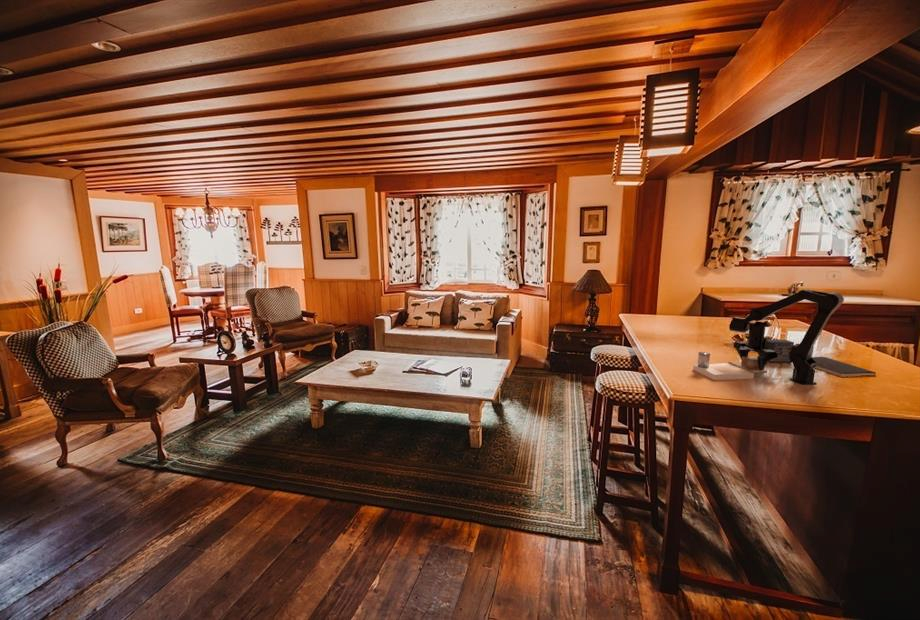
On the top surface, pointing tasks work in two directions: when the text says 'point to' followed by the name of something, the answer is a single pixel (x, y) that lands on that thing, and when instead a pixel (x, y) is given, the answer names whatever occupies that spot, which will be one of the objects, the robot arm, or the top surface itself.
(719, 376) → the dock
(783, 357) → the small box
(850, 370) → the hardcover book
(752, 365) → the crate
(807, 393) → the top surface
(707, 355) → the canister
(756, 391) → the top surface
